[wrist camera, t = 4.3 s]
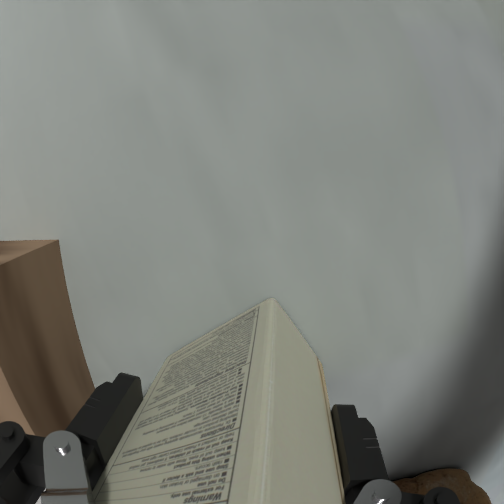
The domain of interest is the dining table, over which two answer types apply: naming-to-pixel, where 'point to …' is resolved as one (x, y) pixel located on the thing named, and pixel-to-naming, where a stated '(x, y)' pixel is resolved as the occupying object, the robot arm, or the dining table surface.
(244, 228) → the dining table surface
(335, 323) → the dining table surface
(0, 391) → the walnut block
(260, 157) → the dining table surface
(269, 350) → the skincare box
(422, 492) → the block
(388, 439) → the dining table surface
